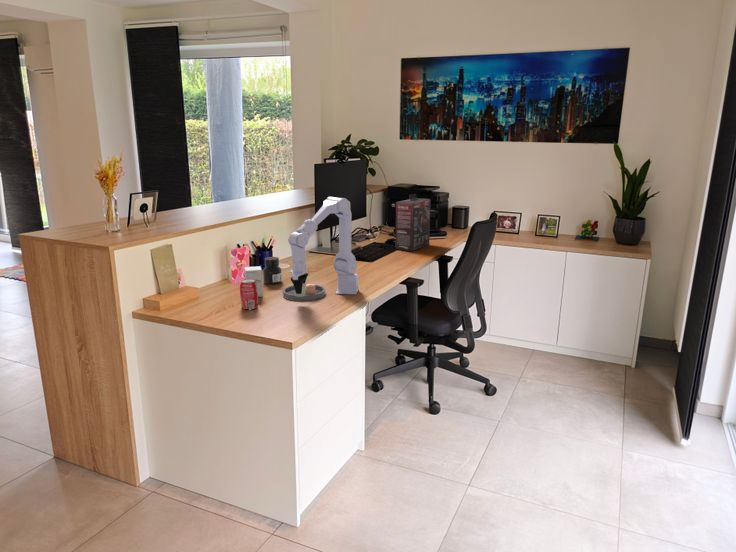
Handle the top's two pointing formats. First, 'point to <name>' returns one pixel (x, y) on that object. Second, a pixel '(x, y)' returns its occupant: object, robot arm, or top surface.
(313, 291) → the terracotta bead
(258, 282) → the supplement box
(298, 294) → the sage bead
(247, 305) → the soda can
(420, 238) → the headset box
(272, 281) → the ink bottle
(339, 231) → the robot arm
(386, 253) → the top surface
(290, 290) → the groove tray
